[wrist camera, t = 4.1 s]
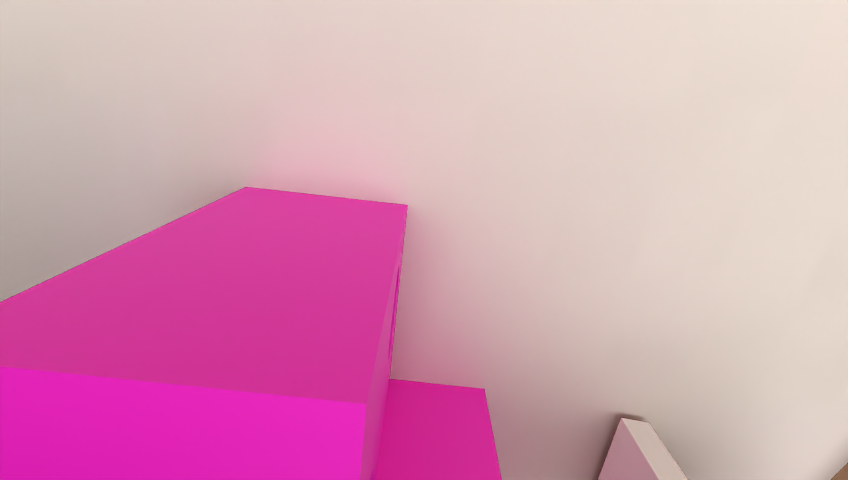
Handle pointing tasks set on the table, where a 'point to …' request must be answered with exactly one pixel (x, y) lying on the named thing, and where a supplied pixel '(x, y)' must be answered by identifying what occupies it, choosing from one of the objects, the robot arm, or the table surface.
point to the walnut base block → (842, 474)
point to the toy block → (232, 356)
